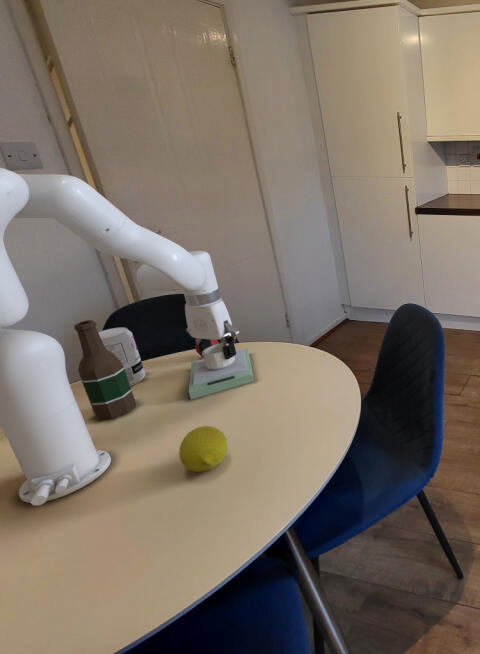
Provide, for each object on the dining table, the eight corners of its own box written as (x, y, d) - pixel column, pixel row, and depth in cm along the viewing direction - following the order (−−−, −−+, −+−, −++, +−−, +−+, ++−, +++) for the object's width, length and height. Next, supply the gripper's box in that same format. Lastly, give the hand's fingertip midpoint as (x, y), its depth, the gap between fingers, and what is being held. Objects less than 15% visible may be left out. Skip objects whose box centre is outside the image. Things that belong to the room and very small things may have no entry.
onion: (209, 362, 124) (203, 338, 122) (193, 361, 125) (187, 337, 123) (226, 353, 130) (220, 330, 127) (210, 351, 131) (204, 328, 128)
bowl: (236, 365, 116) (231, 349, 114) (206, 373, 112) (201, 357, 111) (235, 355, 121) (230, 340, 120) (207, 363, 118) (202, 348, 116)
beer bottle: (86, 418, 100) (50, 328, 92) (122, 399, 107) (91, 314, 99) (110, 423, 98) (75, 331, 90) (145, 403, 105) (115, 317, 98)
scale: (253, 381, 114) (251, 372, 113) (190, 399, 106) (187, 389, 105) (249, 355, 128) (247, 346, 127) (193, 369, 121) (190, 360, 120)
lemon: (231, 472, 83) (222, 438, 80) (182, 489, 79) (171, 455, 76) (231, 440, 91) (222, 410, 89) (187, 455, 87) (177, 423, 85)
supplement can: (99, 387, 112) (80, 338, 108) (133, 372, 120) (117, 325, 115) (120, 392, 110) (101, 341, 105) (153, 376, 117) (137, 328, 113)
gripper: (162, 300, 109) (181, 360, 114) (219, 304, 106) (235, 365, 111) (188, 290, 116) (205, 347, 121) (242, 293, 113) (256, 351, 118)
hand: (219, 355), depth 116 cm, fingers closed on bowl, 7 cm apart
